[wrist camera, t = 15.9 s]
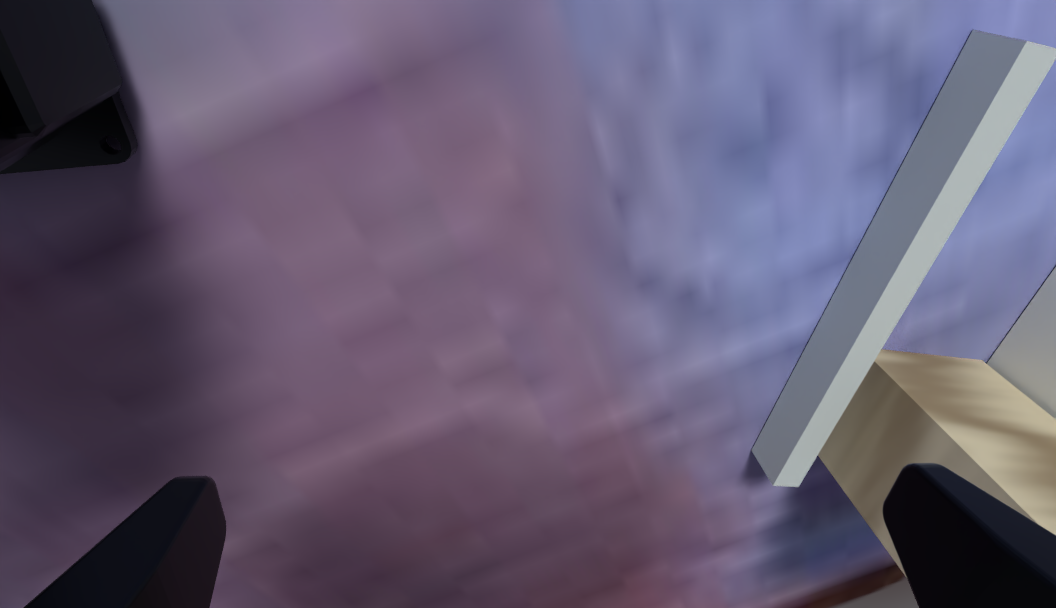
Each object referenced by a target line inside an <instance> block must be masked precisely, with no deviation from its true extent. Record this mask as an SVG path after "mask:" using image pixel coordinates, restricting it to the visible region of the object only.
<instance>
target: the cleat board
mask: <svg viewBox="0 0 1056 608" xmlns="http://www.w3.org/2000/svg"><path fill="white" fill-rule="evenodd" d="M1055 59H1056V48H1052V47H1048V46H1044V45H1040V44H1036V43H1033V42H1029V41H1024V40H1020V39H1015V38H1010V37H1006V36H1001V35H996V34H991V33H987V32H982V31H977V30H972V32H971V34H970V36H969V38H968V40H967V42H966V44H965V46H964V48H963V49H962V51H961V53H960V55H959V57H958V59H957V61H956V63H955V65H954V67H953V68H952V70H951V72H950V74H949V76H948V78H947V80H946V82H945V84H944V86H943V87H942V89H941V91H940V93H939V95H938V97H937V99H936V101H935V103H934V105H933V106H932V108H931V110H930V112H929V114H928V116H927V118H926V120H925V122H924V124H923V125H922V127H921V129H920V131H919V133H918V135H917V137H916V139H915V141H914V143H913V144H912V146H911V148H910V150H909V152H908V154H907V156H906V158H905V160H904V162H903V163H902V165H901V167H900V169H899V171H898V173H897V175H896V177H895V179H894V181H893V182H892V184H891V186H890V188H889V190H888V192H887V194H886V196H885V198H884V200H883V201H882V203H881V205H880V207H879V209H878V211H877V213H876V215H875V217H874V218H873V220H872V222H871V224H870V226H869V228H868V230H867V232H866V234H865V236H864V237H863V239H862V241H861V243H860V245H859V247H858V249H857V251H856V253H855V255H854V256H853V258H852V260H851V262H850V264H849V266H848V268H847V270H846V272H845V274H844V275H843V277H842V279H841V281H840V283H839V285H838V287H837V289H836V291H835V293H834V294H833V296H832V298H831V300H830V302H829V304H828V306H827V308H826V310H825V312H824V313H823V315H822V317H821V319H820V321H819V323H818V325H817V327H816V329H815V331H814V332H813V334H812V336H811V338H810V340H809V342H808V344H807V346H806V348H805V350H804V351H803V353H802V355H801V357H800V359H799V361H798V363H797V365H796V367H795V369H794V370H793V372H792V374H791V376H790V378H789V380H788V382H787V384H786V386H785V388H784V389H783V391H782V393H781V395H780V397H779V399H778V401H777V403H776V405H775V407H774V408H773V410H772V412H771V414H770V416H769V418H768V420H767V422H766V424H765V426H764V427H763V429H762V431H761V433H760V435H759V437H758V439H757V441H756V443H755V445H754V446H753V448H752V450H751V451H752V452H753V454H754V455H755V457H756V459H757V460H758V462H759V464H760V465H761V467H762V469H763V470H764V472H765V474H766V475H767V477H768V478H769V480H770V482H771V483H772V485H773V486H788V487H799V486H800V484H801V482H802V481H803V479H804V477H805V476H806V474H807V472H808V471H809V469H810V467H811V466H812V464H813V462H814V461H815V459H816V457H817V456H818V454H819V452H820V451H821V449H822V447H823V446H824V444H825V442H826V441H827V439H828V437H829V436H830V434H831V432H832V431H833V429H834V427H835V426H836V424H837V422H838V421H839V419H840V417H841V416H842V414H843V412H844V411H845V409H846V407H847V406H848V404H849V402H850V401H851V399H852V397H853V396H854V394H855V392H856V391H857V389H858V387H859V386H860V384H861V382H862V381H863V379H864V377H865V376H866V374H867V372H868V371H869V369H870V367H871V366H872V364H873V362H874V361H875V359H876V357H877V356H878V354H879V352H880V351H881V349H882V347H883V346H884V344H885V342H886V341H887V339H888V337H889V336H890V334H891V332H892V331H893V329H894V327H895V326H896V324H897V322H898V321H899V319H900V317H901V316H902V314H903V312H904V311H905V309H906V307H907V306H908V304H909V302H910V301H911V299H912V297H913V296H914V294H915V292H916V291H917V289H918V287H919V286H920V284H921V282H922V281H923V279H924V277H925V276H926V274H927V272H928V271H929V269H930V267H931V266H932V264H933V262H934V261H935V259H936V257H937V256H938V254H939V252H940V251H941V249H942V247H943V246H944V244H945V242H946V241H947V239H948V237H949V236H950V234H951V232H952V231H953V229H954V227H955V226H956V224H957V222H958V221H959V219H960V217H961V216H962V214H963V212H964V211H965V209H966V208H967V206H968V204H969V203H970V201H971V199H972V198H973V196H974V194H975V193H976V191H977V189H978V188H979V186H980V184H981V183H982V181H983V179H984V178H985V176H986V174H987V173H988V171H989V169H990V168H991V166H992V164H993V163H994V161H995V159H996V158H997V156H998V154H999V153H1000V151H1001V149H1002V148H1003V146H1004V144H1005V143H1006V141H1007V139H1008V138H1009V136H1010V134H1011V133H1012V131H1013V129H1014V128H1015V126H1016V124H1017V123H1018V121H1019V119H1020V118H1021V116H1022V114H1023V113H1024V111H1025V109H1026V108H1027V106H1028V104H1029V103H1030V101H1031V99H1032V98H1033V96H1034V94H1035V93H1036V91H1037V89H1038V88H1039V86H1040V84H1041V83H1042V81H1043V79H1044V78H1045V76H1046V74H1047V73H1048V71H1049V69H1050V68H1051V66H1052V64H1053V63H1054V61H1055ZM987 365H988V366H990V367H991V368H992V369H993V370H995V371H996V372H997V373H998V374H1000V375H1001V376H1002V377H1003V378H1005V379H1006V380H1007V381H1008V382H1010V383H1011V384H1012V385H1013V386H1015V387H1016V388H1017V389H1018V390H1020V391H1021V392H1022V393H1023V394H1025V395H1026V396H1027V397H1028V398H1030V399H1031V400H1032V401H1033V402H1035V403H1036V404H1037V405H1038V406H1040V407H1041V408H1042V409H1043V410H1045V411H1046V412H1047V413H1048V414H1050V415H1051V416H1052V417H1053V418H1055V419H1056V267H1055V268H1054V270H1053V271H1052V273H1051V274H1050V275H1049V277H1048V278H1047V280H1046V281H1045V282H1044V284H1043V285H1042V287H1041V288H1040V289H1039V291H1038V292H1037V294H1036V295H1035V296H1034V298H1033V299H1032V301H1031V302H1030V303H1029V305H1028V306H1027V308H1026V309H1025V310H1024V312H1023V313H1022V315H1021V316H1020V317H1019V319H1018V320H1017V322H1016V323H1015V325H1014V326H1013V327H1012V329H1011V330H1010V332H1009V333H1008V334H1007V336H1006V337H1005V339H1004V340H1003V341H1002V343H1001V344H1000V346H999V347H998V348H997V350H996V351H995V353H994V354H993V355H992V357H991V358H990V360H989V361H988V362H987Z"/></svg>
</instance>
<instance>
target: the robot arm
mask: <svg viewBox="0 0 1056 608" xmlns="http://www.w3.org/2000/svg"><path fill="white" fill-rule="evenodd" d="M121 84H122V79H121V76H120V74H119V71H118V69H117V66H116V63H115V61H114V58H113V55H112V53H111V50H110V47H109V45H108V42H107V40H106V37H105V34H104V32H103V29H102V26H101V24H100V21H99V18H98V16H97V13H96V11H95V8H94V5H93V3H92V0H0V174H6V173H17V172H29V171H40V170H51V169H62V168H74V167H85V166H96V165H107V164H118V163H122V162H125V161H126V160H127V159H129V158H130V157H131V156H132V155H133V154H134V153H135V152H136V149H137V141H136V137H135V135H134V132H133V129H132V127H131V124H130V122H129V119H128V116H127V114H126V111H125V109H124V106H123V103H122V101H121V98H120V96H119V93H118V89H119V87H120V86H121ZM106 136H112V137H114V138H116V139H117V140H118V141H119V143H120V144H121V150H117V149H114V148H112V147H110V146H109V144H108V143H107V141H106ZM882 511H883V519H884V522H885V525H886V527H887V530H888V532H889V535H890V537H891V539H892V542H893V544H894V547H895V549H896V552H897V554H898V557H899V559H900V562H901V564H902V567H903V569H904V572H905V574H906V576H907V579H908V581H909V584H910V586H911V589H912V591H913V594H914V596H915V599H916V601H917V604H918V606H919V608H1056V535H1055V534H1053V533H1051V532H1050V531H1048V530H1047V529H1045V528H1043V527H1042V526H1040V525H1038V524H1037V523H1035V522H1034V521H1032V520H1030V519H1029V518H1027V517H1025V516H1024V515H1022V514H1021V513H1019V512H1017V511H1016V510H1014V509H1012V508H1011V507H1009V506H1008V505H1006V504H1004V503H1003V502H1001V501H1000V500H998V499H996V498H995V497H993V496H991V495H990V494H988V493H987V492H985V491H983V490H982V489H980V488H978V487H977V486H975V485H974V484H972V483H970V482H969V481H967V480H965V479H964V478H962V477H961V476H959V475H957V474H956V473H954V472H953V471H951V470H949V469H948V468H946V467H944V466H942V465H940V464H936V463H911V464H907V465H906V466H904V467H903V468H902V470H901V471H900V473H899V475H898V477H897V479H896V480H895V482H894V484H893V486H892V488H891V489H890V491H889V493H888V495H887V497H886V499H885V500H884V503H883V508H882ZM225 537H226V520H225V516H224V512H223V509H222V505H221V502H220V498H219V494H218V491H217V487H216V484H215V482H214V480H213V479H212V478H211V477H208V476H181V477H176V478H174V479H172V480H170V481H169V482H168V483H167V484H165V485H164V486H163V487H162V488H161V489H160V490H158V491H157V492H156V493H155V494H154V495H153V496H152V497H150V498H149V499H148V500H147V501H146V502H145V503H143V504H142V505H141V506H140V507H139V508H138V509H137V510H135V511H134V512H133V513H132V514H131V515H130V516H129V517H127V518H126V519H125V520H124V521H123V522H122V523H120V524H119V525H118V526H117V527H116V528H115V529H114V530H112V531H111V532H110V533H109V534H108V535H107V536H105V537H104V538H103V539H102V540H101V541H100V542H99V543H97V544H96V545H95V546H94V547H93V548H92V549H90V550H89V551H88V552H87V553H86V554H85V555H84V556H82V557H81V558H80V559H79V560H78V561H77V562H75V563H74V564H73V565H72V566H71V567H70V568H69V569H67V570H66V571H65V572H64V573H63V574H62V575H61V576H59V577H58V578H57V579H56V580H55V581H54V582H52V583H51V584H50V585H49V586H48V587H47V588H46V589H44V590H43V591H42V592H41V593H40V594H39V595H37V596H36V597H35V598H34V599H33V600H32V601H31V602H29V603H28V604H27V605H26V606H25V607H24V608H209V607H210V603H211V598H212V594H213V590H214V585H215V581H216V577H217V572H218V568H219V564H220V560H221V555H222V551H223V547H224V542H225Z"/></svg>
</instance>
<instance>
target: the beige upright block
mask: <svg viewBox="0 0 1056 608" xmlns="http://www.w3.org/2000/svg"><path fill="white" fill-rule="evenodd" d="M818 456H819V458H820V459H821V460H822V462H823V463H824V465H825V466H826V467H827V469H828V470H829V471H830V473H831V474H832V476H833V477H834V478H835V480H836V481H837V482H838V484H839V485H840V487H841V488H842V489H843V491H844V492H845V493H846V495H847V496H848V498H849V499H850V500H851V502H852V503H853V505H854V506H855V507H856V509H857V510H858V511H859V513H860V514H861V516H862V517H863V518H864V520H865V521H866V522H867V524H868V525H869V527H870V528H871V529H872V531H873V532H874V533H875V535H876V536H877V538H878V539H879V540H880V542H881V543H882V544H883V546H884V547H885V549H886V550H887V551H888V553H889V554H890V556H891V557H892V558H893V560H894V561H895V562H896V564H897V565H898V567H899V568H900V569H901V571H902V572H903V573H904V575H905V576H906V574H905V572H904V569H903V567H902V564H901V562H900V559H899V557H898V554H897V552H896V549H895V547H894V544H893V542H892V539H891V537H890V535H889V532H888V530H887V527H886V525H885V522H884V519H883V511H882V508H883V503H884V500H885V499H886V497H887V495H888V493H889V491H890V489H891V488H892V486H893V484H894V482H895V480H896V479H897V477H898V475H899V473H900V471H901V470H902V468H903V467H904V466H906V465H907V464H911V463H936V464H940V465H942V466H944V467H946V468H948V469H949V470H951V471H953V472H954V473H956V474H957V475H959V476H961V477H962V478H964V479H965V480H967V481H969V482H970V483H972V484H974V485H975V486H977V487H978V488H980V489H982V490H983V491H985V492H987V493H988V494H990V495H991V496H993V497H995V498H996V499H998V500H1000V501H1001V502H1003V503H1004V504H1006V505H1008V506H1009V507H1011V508H1012V509H1014V510H1016V511H1017V512H1019V513H1021V514H1022V515H1024V516H1025V517H1027V518H1029V519H1030V520H1032V521H1034V522H1035V523H1037V524H1038V525H1040V526H1042V527H1043V528H1045V529H1047V530H1048V531H1050V532H1051V533H1053V534H1055V535H1056V419H1055V418H1053V417H1052V416H1051V415H1050V414H1048V413H1047V412H1046V411H1045V410H1043V409H1042V408H1041V407H1040V406H1038V405H1037V404H1036V403H1035V402H1033V401H1032V400H1031V399H1030V398H1028V397H1027V396H1026V395H1025V394H1023V393H1022V392H1021V391H1020V390H1018V389H1017V388H1016V387H1015V386H1013V385H1012V384H1011V383H1010V382H1008V381H1007V380H1006V379H1005V378H1003V377H1002V376H1001V375H1000V374H998V373H997V372H996V371H995V370H993V369H992V368H991V367H990V366H988V365H987V364H986V363H985V362H983V361H982V360H975V359H966V358H957V357H947V356H938V355H929V354H919V353H910V352H901V351H892V350H882V349H881V351H880V352H879V354H878V356H877V357H876V359H875V361H874V362H873V364H872V366H871V367H870V369H869V371H868V372H867V374H866V376H865V377H864V379H863V381H862V382H861V384H860V386H859V387H858V389H857V391H856V392H855V394H854V396H853V397H852V399H851V401H850V402H849V404H848V406H847V407H846V409H845V411H844V412H843V414H842V416H841V417H840V419H839V421H838V422H837V424H836V426H835V427H834V429H833V431H832V432H831V434H830V436H829V437H828V439H827V441H826V442H825V444H824V446H823V447H822V449H821V451H820V452H819V454H818ZM906 578H907V576H906Z"/></svg>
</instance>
